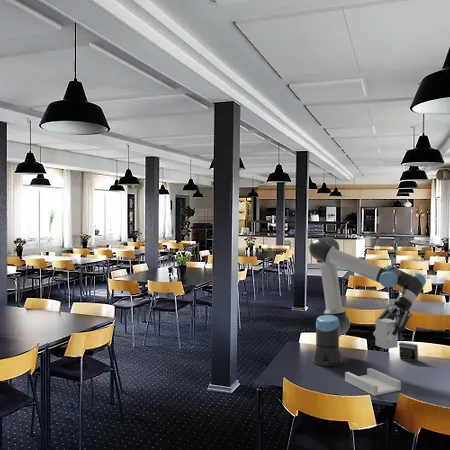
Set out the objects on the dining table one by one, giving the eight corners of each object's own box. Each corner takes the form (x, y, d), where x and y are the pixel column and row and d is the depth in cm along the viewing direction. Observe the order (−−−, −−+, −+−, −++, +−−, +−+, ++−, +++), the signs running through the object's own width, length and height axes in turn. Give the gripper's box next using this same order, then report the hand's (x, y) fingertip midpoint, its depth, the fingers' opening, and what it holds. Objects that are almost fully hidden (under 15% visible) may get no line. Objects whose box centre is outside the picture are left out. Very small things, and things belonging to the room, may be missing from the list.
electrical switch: (418, 360, 241) (418, 343, 240) (416, 364, 237) (416, 346, 236) (400, 357, 246) (399, 340, 245) (397, 361, 242) (397, 344, 241)
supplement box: (386, 349, 213) (386, 322, 213) (375, 345, 220) (375, 319, 220) (398, 347, 217) (398, 321, 216) (386, 343, 223) (386, 317, 223)
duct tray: (345, 381, 211) (345, 372, 211) (370, 376, 217) (370, 367, 217) (374, 395, 194) (374, 386, 194) (400, 390, 200) (400, 381, 200)
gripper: (426, 309, 217) (403, 348, 209) (392, 302, 234) (369, 337, 227) (419, 299, 214) (395, 338, 206) (384, 292, 232) (361, 328, 224)
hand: (381, 337), depth 217 cm, fingers closed on supplement box, 7 cm apart
